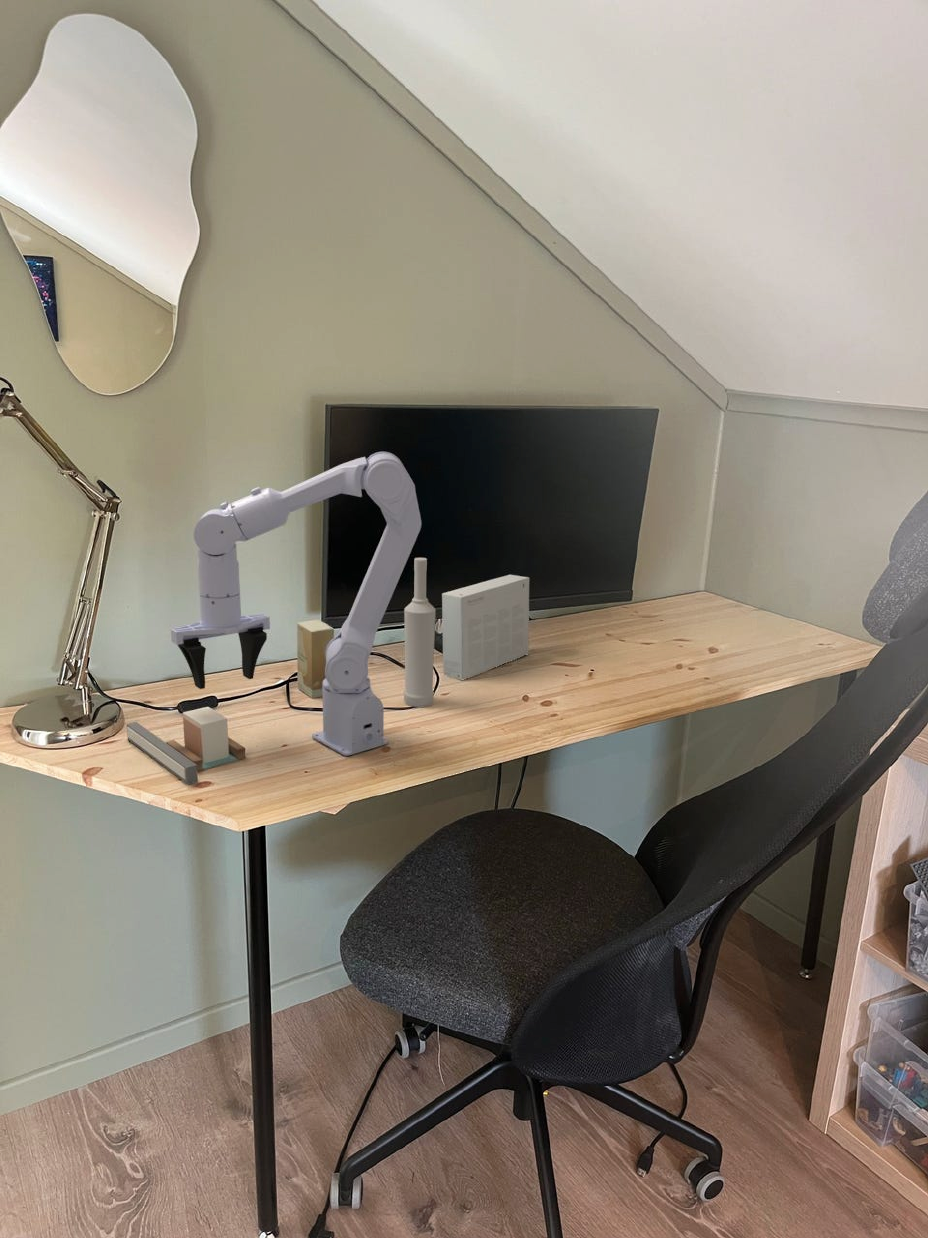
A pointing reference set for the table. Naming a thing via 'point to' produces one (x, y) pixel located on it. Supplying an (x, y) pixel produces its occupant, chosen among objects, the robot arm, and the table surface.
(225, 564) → the robot arm
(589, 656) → the table surface
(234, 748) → the facing slot
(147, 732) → the rail
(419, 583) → the bottle
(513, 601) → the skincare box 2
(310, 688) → the skincare box
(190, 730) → the carton
